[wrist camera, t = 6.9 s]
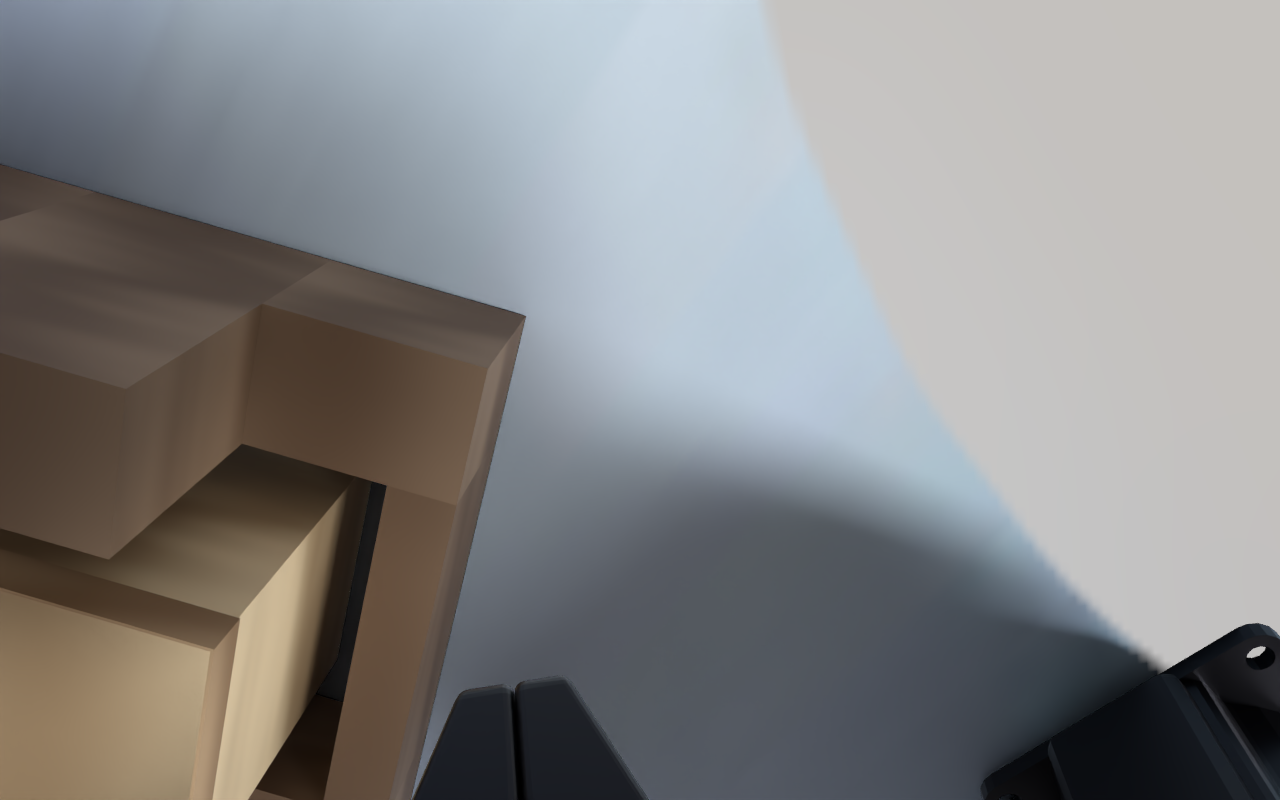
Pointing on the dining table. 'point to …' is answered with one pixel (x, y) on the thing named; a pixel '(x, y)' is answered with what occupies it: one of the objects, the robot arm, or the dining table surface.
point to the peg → (177, 638)
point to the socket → (252, 426)
